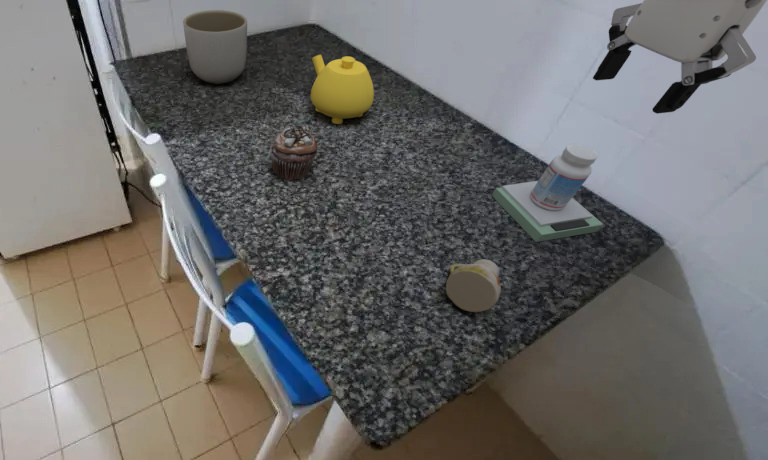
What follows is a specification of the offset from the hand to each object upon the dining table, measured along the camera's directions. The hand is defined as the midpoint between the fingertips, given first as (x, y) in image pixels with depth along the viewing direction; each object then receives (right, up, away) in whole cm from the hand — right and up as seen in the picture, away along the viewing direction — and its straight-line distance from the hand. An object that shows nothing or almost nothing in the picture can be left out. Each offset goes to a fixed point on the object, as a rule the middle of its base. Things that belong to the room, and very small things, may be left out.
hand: (630, 94), depth 54 cm
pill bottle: (+3, -13, +20) cm, 24 cm away
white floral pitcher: (-18, -29, +9) cm, 35 cm away
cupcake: (-44, -6, +30) cm, 54 cm away
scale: (+3, -16, +21) cm, 27 cm away
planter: (-63, +26, +61) cm, 91 cm away
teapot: (-32, +13, +49) cm, 60 cm away
